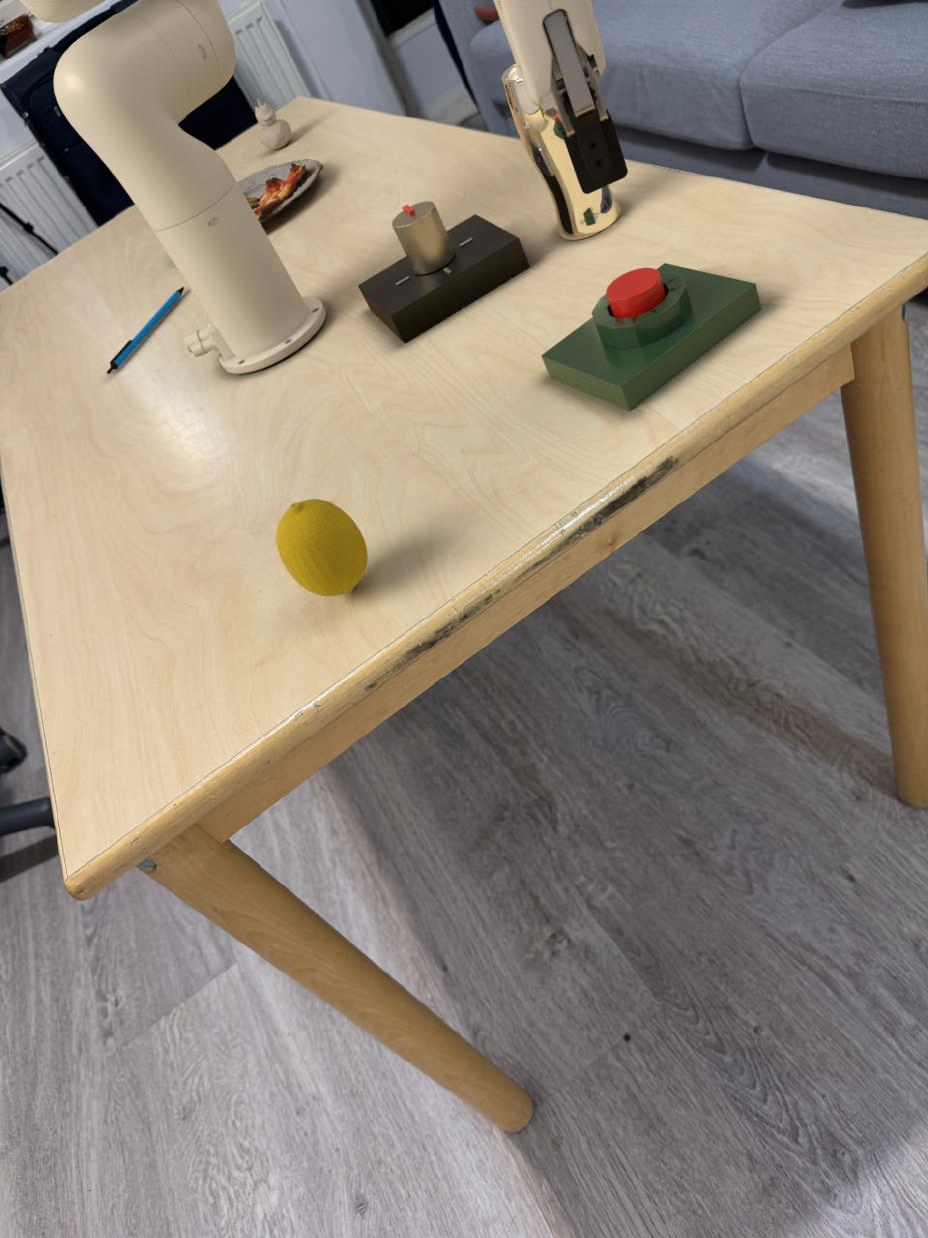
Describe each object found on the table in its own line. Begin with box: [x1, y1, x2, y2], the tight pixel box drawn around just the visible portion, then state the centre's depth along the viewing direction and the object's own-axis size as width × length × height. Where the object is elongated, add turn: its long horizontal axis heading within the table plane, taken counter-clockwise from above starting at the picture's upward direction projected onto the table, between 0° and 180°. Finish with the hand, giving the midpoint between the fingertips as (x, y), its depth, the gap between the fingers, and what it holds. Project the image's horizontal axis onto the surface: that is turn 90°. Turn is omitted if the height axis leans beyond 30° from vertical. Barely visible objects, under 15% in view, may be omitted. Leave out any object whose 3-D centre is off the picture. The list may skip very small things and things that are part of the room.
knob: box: [391, 200, 455, 275], centre depth 93 cm, size 4×4×5 cm
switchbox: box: [541, 262, 762, 412], centre depth 73 cm, size 13×10×4 cm
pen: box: [106, 286, 185, 375], centre depth 124 cm, size 1×19×1 cm, turn 160°
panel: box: [357, 213, 531, 344], centre depth 96 cm, size 14×11×3 cm
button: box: [605, 267, 666, 318], centre depth 72 cm, size 4×4×2 cm
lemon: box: [275, 498, 369, 597], centre depth 66 cm, size 6×6×8 cm
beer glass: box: [500, 62, 622, 241], centre depth 89 cm, size 7×7×15 cm
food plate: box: [236, 158, 324, 225], centre depth 141 cm, size 25×23×4 cm
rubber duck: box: [254, 98, 292, 150], centre depth 161 cm, size 5×7×8 cm
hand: (604, 180), depth 66 cm, fingers closed
